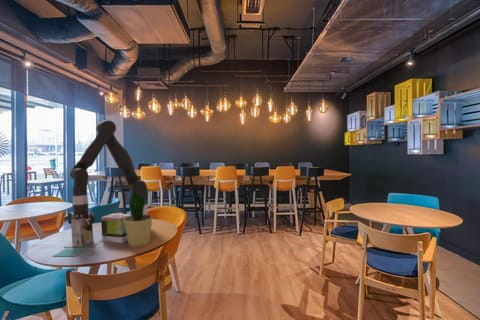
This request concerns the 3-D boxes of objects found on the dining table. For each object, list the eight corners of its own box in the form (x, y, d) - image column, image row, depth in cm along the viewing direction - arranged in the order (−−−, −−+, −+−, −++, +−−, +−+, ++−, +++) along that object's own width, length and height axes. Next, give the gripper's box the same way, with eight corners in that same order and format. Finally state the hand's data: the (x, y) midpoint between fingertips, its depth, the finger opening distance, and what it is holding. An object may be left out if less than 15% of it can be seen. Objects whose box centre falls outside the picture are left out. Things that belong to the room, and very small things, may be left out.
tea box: (134, 237, 162) (133, 214, 161) (121, 243, 152) (120, 218, 151) (114, 235, 167) (113, 212, 166) (101, 241, 157) (100, 216, 156)
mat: (87, 248, 146) (87, 248, 146) (75, 256, 136) (75, 255, 136) (66, 248, 146) (66, 248, 146) (52, 256, 136) (52, 256, 136)
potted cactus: (142, 249, 143) (139, 194, 141) (118, 246, 148) (115, 193, 146) (158, 239, 158) (156, 189, 156) (137, 237, 162) (134, 188, 161)
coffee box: (84, 240, 158) (82, 213, 157) (93, 241, 157) (92, 214, 156) (71, 246, 149) (70, 218, 148) (81, 246, 148) (80, 218, 147)
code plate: (101, 240, 158) (101, 240, 158) (91, 247, 148) (91, 246, 148) (75, 241, 159) (75, 240, 159) (63, 247, 149) (63, 247, 149)
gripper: (96, 201, 155) (98, 228, 156) (73, 201, 156) (74, 228, 157) (88, 204, 148) (90, 232, 149) (64, 204, 148) (65, 232, 149)
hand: (82, 230), depth 153 cm, fingers open, 8 cm apart
